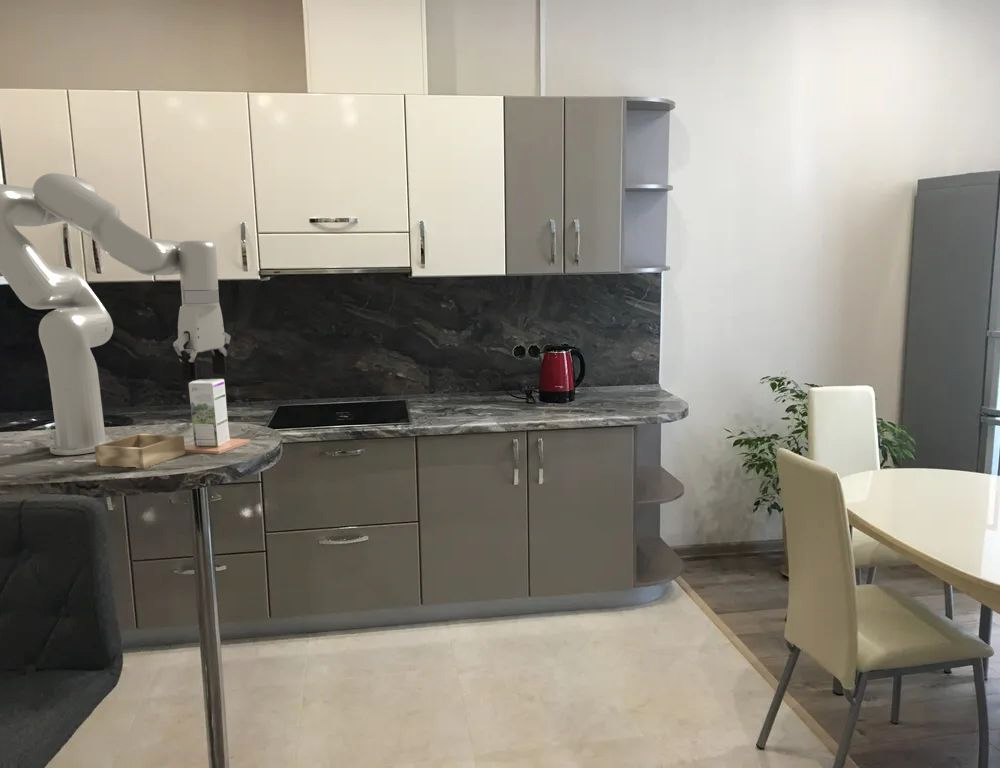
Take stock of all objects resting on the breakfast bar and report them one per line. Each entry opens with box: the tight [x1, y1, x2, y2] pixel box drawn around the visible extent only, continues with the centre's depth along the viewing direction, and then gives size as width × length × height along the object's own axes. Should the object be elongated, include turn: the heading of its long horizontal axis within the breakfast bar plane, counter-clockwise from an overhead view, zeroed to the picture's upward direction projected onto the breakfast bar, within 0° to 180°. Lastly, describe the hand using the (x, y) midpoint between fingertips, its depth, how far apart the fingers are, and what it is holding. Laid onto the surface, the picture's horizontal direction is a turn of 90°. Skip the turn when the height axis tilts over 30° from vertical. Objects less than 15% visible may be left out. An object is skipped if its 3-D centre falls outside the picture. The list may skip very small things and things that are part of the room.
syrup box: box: [188, 378, 231, 447], centre depth 169 cm, size 6×6×14 cm
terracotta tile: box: [184, 438, 251, 455], centre depth 171 cm, size 11×11×1 cm
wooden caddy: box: [94, 433, 186, 469], centre depth 161 cm, size 12×12×4 cm
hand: (205, 376), depth 168 cm, fingers open, 9 cm apart
